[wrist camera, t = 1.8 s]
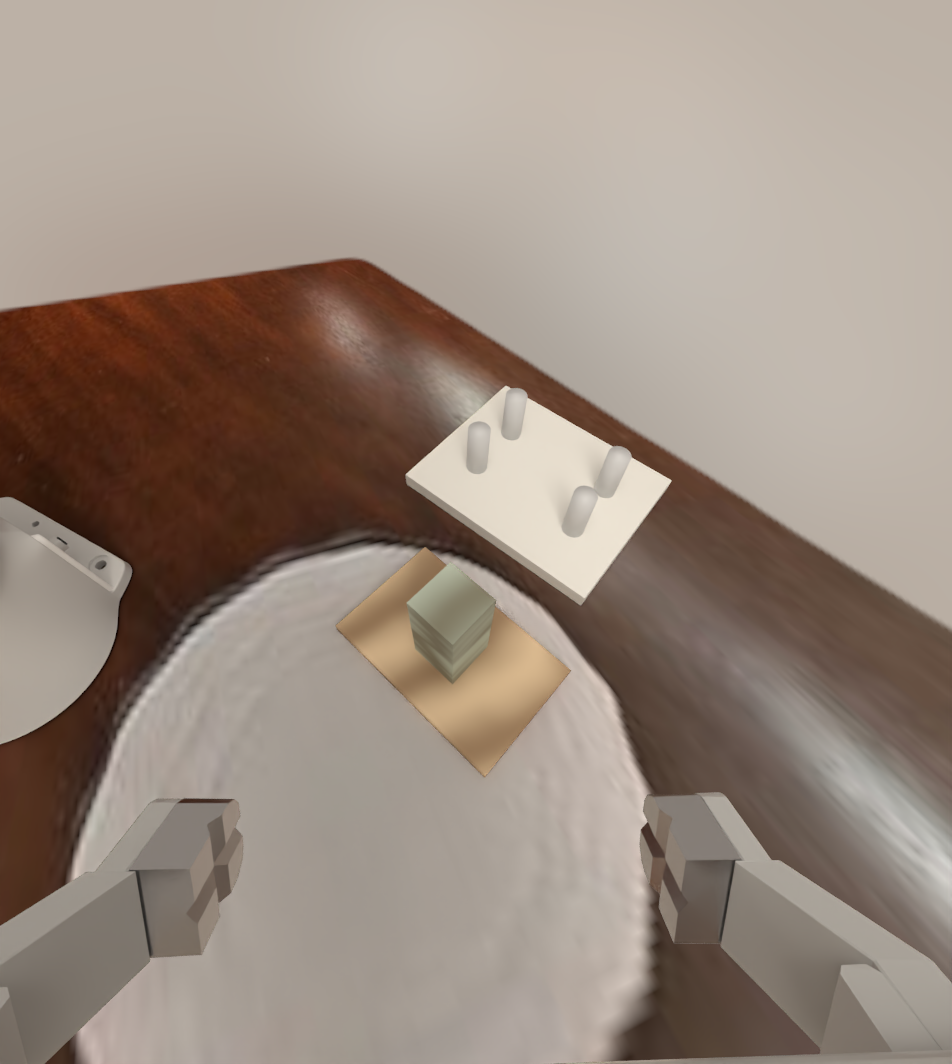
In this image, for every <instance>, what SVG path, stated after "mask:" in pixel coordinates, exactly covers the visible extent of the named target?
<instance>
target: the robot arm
mask: <svg viewBox="0 0 952 1064" xmlns="http://www.w3.org/2000/svg"><path fill="white" fill-rule="evenodd" d="M104 565H106V566H105V567H104V568H103V569H101V568H102V567H103V566H104ZM131 575H132V568H131V566H130V565H129V564H128V563H127V562H125V561H123V560H122V559H120V558H118V557H116V556H115V555H113V554H111V553H109V552H108V551H106V550H104V549H102V548H101V547H99V546H97V545H95V544H94V543H92V542H90V541H88V540H87V539H85V538H83V537H81V536H80V535H78V534H76V533H74V532H73V531H71V530H69V529H67V528H66V527H64V526H62V525H60V524H59V523H57V522H55V521H53V520H51V519H50V518H48V517H46V516H44V515H43V514H41V513H39V512H37V511H36V510H34V509H32V508H30V507H29V506H27V505H25V504H23V503H22V502H20V501H18V500H16V499H14V498H11V497H4V498H0V744H2V743H5V742H8V741H11V740H14V739H16V738H19V737H21V736H23V735H25V734H27V733H29V732H31V731H33V730H35V729H37V728H39V727H40V726H42V725H44V724H45V723H47V722H48V721H50V720H51V719H53V718H54V717H56V716H57V715H58V714H60V713H61V712H62V711H63V710H65V709H66V708H67V707H68V706H69V705H71V704H72V703H73V702H74V701H75V700H76V699H77V698H78V697H79V696H80V695H81V694H82V693H83V692H84V691H85V690H86V688H87V687H88V686H89V685H90V684H91V682H92V681H93V680H94V678H95V677H96V676H97V674H98V673H99V671H100V670H101V668H102V666H103V665H104V663H105V661H106V659H107V657H108V655H109V653H110V651H111V648H112V646H113V643H114V639H115V636H116V631H117V624H118V608H119V602H120V599H121V597H122V595H123V593H124V591H125V589H126V587H127V585H128V583H129V581H130V578H131ZM643 812H644V815H645V817H646V819H647V821H648V822H647V823H646V825H645V826H644V827H643V828H642V829H641V833H640V852H641V861H642V864H643V868H644V872H645V874H646V877H647V879H648V882H649V885H650V886H652V887H653V888H654V889H655V890H656V891H657V892H659V893H660V902H659V909H660V911H661V914H662V916H663V918H664V921H665V923H666V926H667V928H668V930H669V933H670V935H671V937H672V940H673V942H674V943H694V944H721V947H722V948H723V949H724V950H725V952H726V953H727V954H728V955H729V956H730V957H731V958H732V959H733V960H734V961H735V962H736V963H737V964H738V965H739V966H740V967H741V968H742V969H743V970H744V971H745V972H746V973H747V974H748V975H749V976H750V977H751V978H752V979H753V980H754V981H755V982H756V983H757V984H758V985H759V986H760V987H761V988H762V989H763V990H764V991H765V992H766V993H767V994H768V995H769V996H770V997H771V998H772V999H773V1000H774V1002H775V1003H776V1004H777V1005H778V1006H779V1007H780V1008H781V1009H782V1010H783V1011H784V1012H785V1013H786V1014H787V1015H788V1016H789V1017H790V1018H791V1019H792V1020H793V1021H794V1022H795V1023H796V1024H797V1025H798V1026H799V1027H800V1028H801V1029H802V1030H803V1031H804V1032H805V1033H806V1034H807V1035H808V1036H809V1037H810V1038H811V1039H812V1040H813V1041H814V1042H815V1043H816V1044H817V1045H818V1046H819V1047H820V1048H821V1050H820V1054H812V1055H783V1056H754V1057H724V1058H695V1059H667V1060H639V1061H611V1062H584V1063H556V1064H952V983H951V982H950V980H949V979H948V978H947V977H946V976H945V975H944V974H943V972H942V971H941V970H940V969H939V968H938V967H937V966H936V964H935V963H934V962H933V961H932V960H931V959H929V958H928V957H926V956H924V955H923V954H921V953H920V952H918V951H917V950H915V949H914V948H912V947H911V946H909V945H908V944H906V943H905V942H903V941H902V940H900V939H899V938H897V937H896V936H894V935H892V934H891V933H889V932H888V931H886V930H885V929H883V928H882V927H880V926H879V925H877V924H876V923H874V922H873V921H871V920H870V919H868V918H867V917H865V916H864V915H862V914H860V913H859V912H857V911H856V910H854V909H853V908H851V907H850V906H848V905H847V904H845V903H844V902H842V901H841V900H839V899H838V898H836V897H835V896H833V895H831V894H830V893H828V892H827V891H825V890H824V889H822V888H821V887H819V886H818V885H816V884H815V883H813V882H812V881H810V880H809V879H807V878H806V877H804V876H803V875H801V874H799V873H798V872H796V871H795V870H793V869H792V868H790V867H789V866H787V865H786V864H784V863H783V862H781V861H780V860H771V859H770V857H769V856H768V855H767V853H766V852H765V850H764V849H763V848H762V846H761V845H760V843H759V842H758V841H757V839H756V838H755V836H754V835H753V834H752V832H751V831H750V829H749V828H748V827H747V825H746V824H745V822H744V821H743V820H742V818H741V817H740V815H739V814H738V813H737V811H736V810H735V809H734V807H733V806H732V804H731V803H730V802H729V800H728V799H727V797H726V796H725V795H723V794H722V793H720V792H716V793H696V794H650V795H647V796H646V798H645V800H644V807H643ZM239 818H240V810H239V803H238V801H236V800H234V799H156V800H154V801H153V802H151V803H150V804H149V805H148V806H147V807H146V808H145V809H144V811H143V812H142V813H141V815H140V816H139V817H138V818H137V820H136V821H135V822H134V823H133V825H132V826H131V827H130V828H129V830H128V831H127V832H126V833H125V835H124V836H123V837H122V838H121V840H120V841H119V842H118V843H117V845H116V846H115V847H114V849H113V850H112V851H111V852H110V854H109V855H108V856H107V857H106V859H105V860H104V861H103V862H102V864H101V865H100V866H99V867H98V869H97V870H96V871H95V872H86V873H84V874H83V875H81V876H79V877H78V878H76V879H75V880H73V881H71V882H70V883H68V884H67V885H65V886H63V887H62V888H60V889H59V890H57V891H55V892H54V893H52V894H51V895H49V896H47V897H46V898H44V899H43V900H41V901H39V902H38V903H36V904H35V905H33V906H31V907H30V908H28V909H27V910H25V911H23V912H22V913H20V914H19V915H17V916H15V917H14V918H12V919H11V920H9V921H7V922H6V923H4V924H3V925H1V926H0V1064H45V1063H46V1062H47V1061H48V1060H49V1059H50V1058H51V1057H52V1056H53V1055H54V1054H55V1053H56V1052H57V1051H58V1050H59V1049H60V1048H61V1047H62V1046H63V1045H64V1044H65V1043H66V1042H67V1041H68V1040H69V1039H71V1038H72V1037H73V1036H74V1035H75V1034H76V1033H77V1032H78V1031H79V1030H80V1029H81V1028H82V1027H83V1026H84V1025H85V1024H86V1023H87V1022H88V1021H89V1020H90V1019H91V1018H92V1017H93V1016H94V1015H95V1014H96V1013H97V1012H98V1011H99V1010H100V1009H101V1008H102V1007H103V1006H104V1005H106V1004H107V1003H108V1002H109V1001H110V1000H111V999H112V998H113V997H114V996H115V995H116V994H117V993H118V992H119V991H120V990H121V989H122V988H123V987H124V986H125V985H126V984H127V983H128V982H129V981H130V980H131V979H132V978H133V977H134V976H135V975H136V974H137V973H138V972H140V971H141V970H142V969H143V968H144V967H145V966H146V965H147V964H148V963H149V962H150V958H155V957H172V956H190V955H202V953H203V951H204V949H205V947H206V945H207V943H208V940H209V938H210V936H211V934H212V932H213V930H214V928H215V926H216V924H217V922H218V919H219V917H220V913H219V904H218V903H219V902H221V901H222V900H223V899H224V898H225V897H227V896H228V895H229V894H230V893H231V892H232V890H233V887H234V885H235V883H236V881H237V878H238V875H239V871H240V867H241V864H242V859H243V836H242V835H241V833H240V832H239V831H238V830H237V829H236V828H235V826H236V824H237V822H238V820H239Z"/></svg>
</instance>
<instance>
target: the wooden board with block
mask: <svg viewBox="0 0 952 1064" xmlns="http://www.w3.org/2000/svg"><path fill="white" fill-rule="evenodd" d="M495 604H496V600H495V599H494V598H493V597H492V596H490V595H489V594H488V593H487V592H486V591H484V590H483V589H482V588H481V587H480V586H478V585H477V584H476V583H475V582H474V581H473V580H471V579H470V578H469V577H468V576H467V575H465V574H464V573H463V572H462V571H461V570H459V569H458V568H457V567H456V566H455V565H454V564H452V563H451V562H450V563H449V564H448V565H446V564H445V563H443V562H442V561H441V560H440V559H439V558H437V557H436V556H435V555H434V554H433V553H432V552H430V551H429V550H428V549H427V548H426V547H424V548H423V549H422V550H421V551H420V552H419V553H418V554H416V555H415V556H414V557H413V558H412V559H411V560H410V561H408V562H407V563H406V564H405V565H404V566H403V567H402V568H400V569H399V570H398V571H397V572H396V573H395V574H394V575H393V576H391V577H390V578H389V579H388V580H387V581H386V582H385V583H383V584H382V585H381V586H380V587H379V588H378V589H377V590H376V591H374V592H373V593H372V594H371V595H370V596H369V597H368V598H366V599H365V600H364V601H363V602H362V603H361V604H360V605H358V606H357V607H356V608H355V609H354V610H353V611H352V612H351V613H349V614H348V615H347V616H346V617H345V618H344V619H343V620H341V621H340V622H339V623H338V624H337V625H336V628H337V630H338V631H339V632H340V633H341V634H342V635H343V636H344V637H345V638H346V639H347V640H348V641H349V642H350V643H351V644H352V645H353V646H354V647H355V648H356V649H357V650H358V651H359V652H360V653H361V654H362V655H363V656H364V657H365V658H366V659H367V660H368V661H369V662H370V663H371V664H372V665H373V666H374V667H375V668H376V669H377V670H378V671H379V672H380V673H381V674H382V675H383V676H384V677H385V678H386V679H387V680H388V681H389V682H390V683H391V684H392V685H393V686H394V687H395V688H396V689H397V690H398V691H399V692H400V693H401V694H402V695H403V696H404V697H405V698H406V699H407V700H408V701H409V702H410V703H411V704H412V705H413V706H414V707H415V708H416V709H417V710H418V711H419V712H420V713H421V714H422V715H423V716H424V717H425V718H426V719H427V720H428V721H429V722H430V723H431V724H432V725H433V726H434V727H435V728H436V729H437V730H438V731H439V732H440V733H441V734H442V735H443V736H444V737H445V738H446V739H447V740H448V741H449V742H450V743H451V744H452V745H453V746H454V747H455V748H456V749H457V750H458V751H459V752H460V753H461V754H462V755H463V756H464V757H465V758H466V759H467V760H468V761H469V762H470V763H471V764H472V765H473V766H474V767H475V768H476V769H477V770H478V771H479V772H480V773H481V774H482V775H483V776H484V777H485V776H486V775H487V774H488V773H489V771H490V770H491V769H492V768H493V766H494V765H495V764H496V763H497V761H498V760H499V759H500V758H501V756H502V755H503V754H504V753H505V752H506V750H507V749H508V748H509V747H510V745H511V744H512V743H513V742H514V740H515V739H516V738H517V737H518V735H519V734H520V733H521V732H522V731H523V729H524V728H525V727H526V726H527V724H528V723H529V722H530V721H531V719H532V718H533V717H534V716H535V715H536V713H537V712H538V711H539V710H540V708H541V707H542V706H543V705H544V703H545V702H546V701H547V700H548V698H549V697H550V696H551V695H552V694H553V692H554V691H555V690H556V689H557V687H558V686H559V685H560V684H561V682H562V681H563V680H564V679H565V677H566V676H567V675H568V674H569V672H570V671H571V670H570V669H569V668H567V667H566V666H565V665H564V664H563V663H561V662H560V661H559V660H558V659H557V658H556V657H554V656H553V655H552V654H551V653H550V652H548V651H547V650H546V649H545V648H544V647H543V646H541V645H540V644H539V643H538V642H537V641H535V640H534V639H533V638H532V637H531V636H530V635H528V634H527V633H526V632H525V631H524V630H522V629H521V628H520V627H519V626H518V625H517V624H515V623H514V622H513V621H512V620H511V619H509V618H508V617H507V616H506V615H505V614H504V613H502V612H501V611H500V610H499V609H498V608H497V607H495Z"/></svg>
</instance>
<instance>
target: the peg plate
mask: <svg viewBox="0 0 952 1064" xmlns="http://www.w3.org/2000/svg"><path fill="white" fill-rule="evenodd" d="M671 481H672V480H670V479H668V478H666V477H665V476H663V475H661V474H659V473H658V472H656V471H654V470H652V469H651V468H649V467H647V466H645V465H644V464H642V463H640V462H638V461H637V460H635V459H633V458H631V453H630V452H629V451H628V450H627V449H626V448H624V447H621V446H615V447H612V446H611V445H609V444H607V443H605V442H604V441H602V440H600V439H598V438H597V437H595V436H593V435H591V434H590V433H588V432H586V431H584V430H583V429H581V428H579V427H577V426H576V425H574V424H572V423H570V422H569V421H567V420H565V419H563V418H562V417H560V416H558V415H556V414H555V413H553V412H551V411H549V410H548V409H546V408H544V407H542V406H541V405H539V404H537V403H536V402H534V401H532V400H530V399H529V398H527V393H526V392H525V391H524V390H522V389H519V388H512V389H511V388H509V387H508V386H505V387H504V388H503V389H501V390H500V391H499V392H498V393H497V394H496V395H495V396H494V397H492V398H491V399H490V400H489V401H488V402H487V403H486V404H485V405H483V406H482V407H481V408H480V409H479V410H478V411H477V412H476V413H474V414H473V415H472V416H471V417H470V418H469V419H468V420H466V421H465V422H464V423H463V424H462V425H461V426H460V427H459V428H457V429H456V430H455V431H454V432H453V433H452V434H451V435H450V436H448V437H447V438H446V439H445V440H444V441H443V442H442V443H441V444H439V445H438V446H437V447H436V448H435V449H434V450H433V451H432V452H430V453H429V454H428V455H427V456H426V457H425V458H424V459H422V460H421V461H420V462H419V463H418V464H417V465H416V466H415V467H413V468H412V469H411V470H410V471H409V472H408V473H407V474H406V483H407V485H409V486H410V487H411V488H413V489H414V490H416V491H417V492H419V493H420V494H421V495H423V496H424V497H426V498H427V499H429V500H430V501H431V502H433V503H434V504H436V505H437V506H439V507H440V508H442V509H443V510H444V511H446V512H447V513H449V514H450V515H452V516H453V517H454V518H456V519H457V520H459V521H460V522H462V523H463V524H464V525H466V526H467V527H469V528H470V529H472V530H473V531H474V532H476V533H477V534H479V535H480V536H482V537H483V538H484V539H486V540H487V541H489V542H490V543H492V544H493V545H495V546H496V547H497V548H499V549H500V550H502V551H503V552H505V553H506V554H507V555H509V556H510V557H512V558H513V559H515V560H516V561H517V562H519V563H520V564H522V565H523V566H525V567H526V568H527V569H529V570H530V571H532V572H533V573H535V574H536V575H537V576H539V577H540V578H542V579H543V580H545V581H546V582H548V583H549V584H550V585H552V586H553V587H555V588H556V589H558V590H559V591H560V592H562V593H563V594H565V595H566V596H568V597H569V598H570V599H572V600H573V601H575V602H576V603H578V604H579V605H580V606H581V605H582V604H583V602H584V601H585V600H586V598H587V597H588V595H589V594H590V593H591V591H592V590H593V589H594V587H595V586H596V585H597V583H598V582H599V580H600V579H601V578H602V576H603V575H604V574H605V572H606V571H607V570H608V568H609V567H610V565H611V564H612V563H613V561H614V560H615V559H616V557H617V556H618V555H619V553H620V552H621V551H622V549H623V548H624V546H625V545H626V544H627V542H628V541H629V540H630V538H631V537H632V536H633V534H634V533H635V531H636V530H637V529H638V527H639V526H640V525H641V523H642V522H643V521H644V519H645V518H646V517H647V515H648V514H649V512H650V511H651V510H652V508H653V507H654V506H655V504H656V503H657V502H658V500H659V499H660V497H661V496H662V495H663V493H664V492H665V491H666V489H667V488H668V486H669V484H670V483H671Z"/></svg>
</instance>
